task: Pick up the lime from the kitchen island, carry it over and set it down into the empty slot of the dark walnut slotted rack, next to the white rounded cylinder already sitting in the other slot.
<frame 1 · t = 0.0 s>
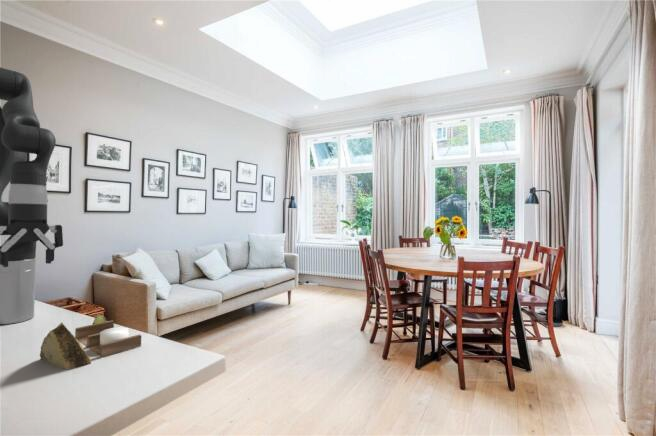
hand: (27, 265, 87), 17 cm above the counter, tool pointing down, fingers open, 8 cm apart
lime: (96, 334, 87), on the counter
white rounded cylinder: (114, 346, 77), point 1 cm above the counter, touching rack
rack: (107, 346, 79), on the counter
rock: (65, 366, 69), on the counter
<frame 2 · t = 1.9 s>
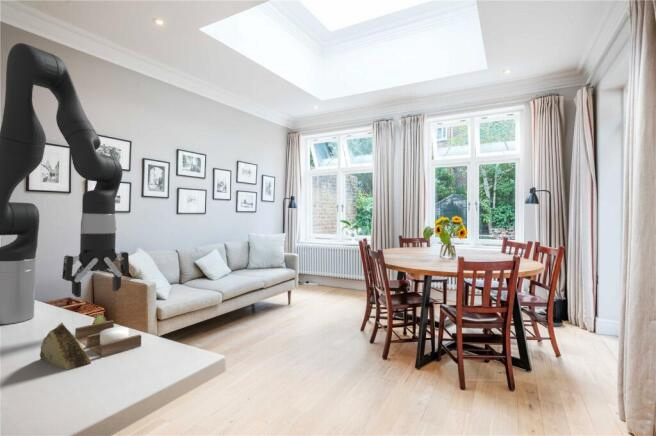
hand: (97, 293, 87), 10 cm above the counter, tool pointing down, fingers open, 8 cm apart
nothing on the counter moved.
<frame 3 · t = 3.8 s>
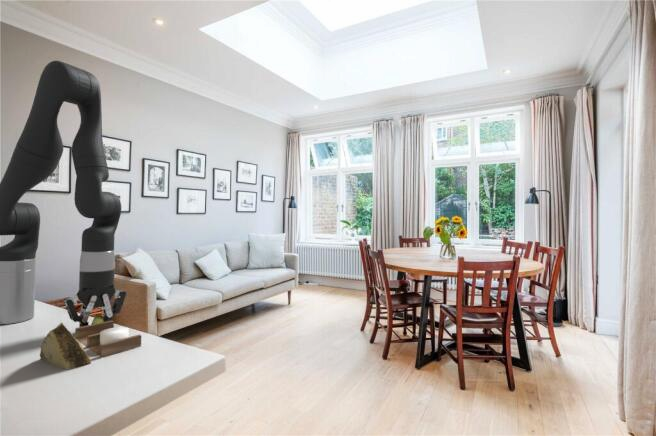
hand: (95, 333, 87), 0 cm above the counter, tool pointing down, fingers closed on lime, 4 cm apart
lime: (95, 334, 87), on the counter, touching gripper
everything else where it was.
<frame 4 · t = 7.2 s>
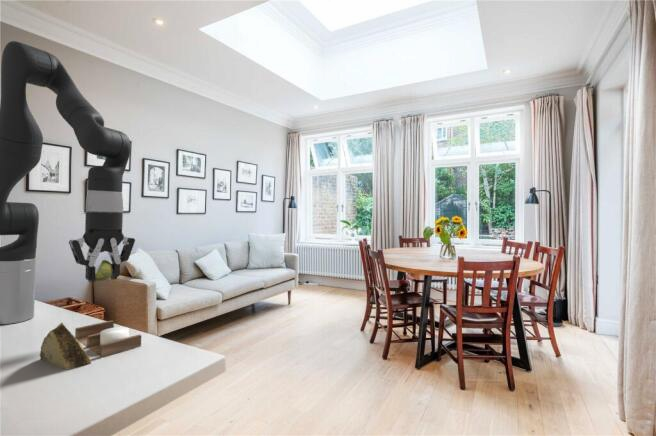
hand: (102, 280, 81), 15 cm above the counter, tool pointing down, fingers closed on lime, 4 cm apart
lime: (102, 281, 81), point 15 cm above the counter, touching gripper
everything else where it was.
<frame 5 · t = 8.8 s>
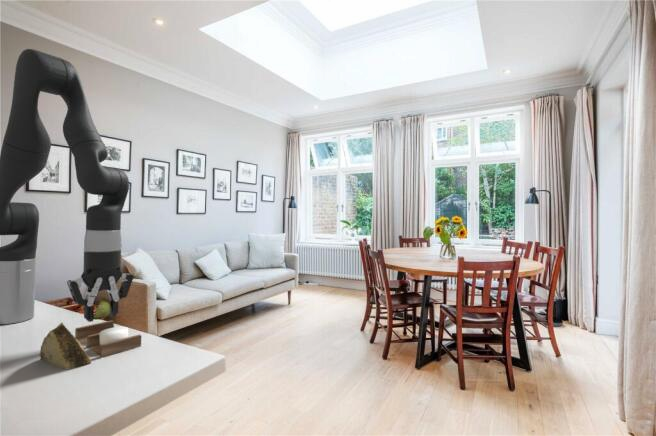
hand: (101, 318, 81), 6 cm above the counter, tool pointing down, fingers closed on lime, 4 cm apart
lime: (100, 319, 81), point 6 cm above the counter, touching gripper
everything else where it was.
when the fingers open (3 cm above the counter, at t = 10.2 s): lime drops 2 cm, resting on rack.
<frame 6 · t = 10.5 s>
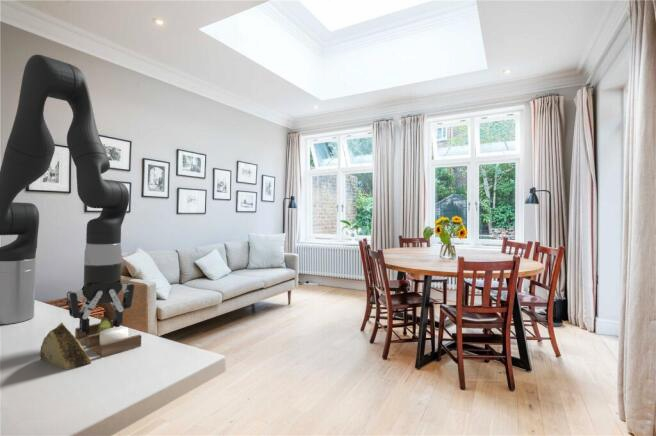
hand: (101, 329, 82), 3 cm above the counter, tool pointing down, fingers open, 6 cm apart
lime: (101, 338, 82), point 1 cm above the counter, touching rack
everything else where it was.
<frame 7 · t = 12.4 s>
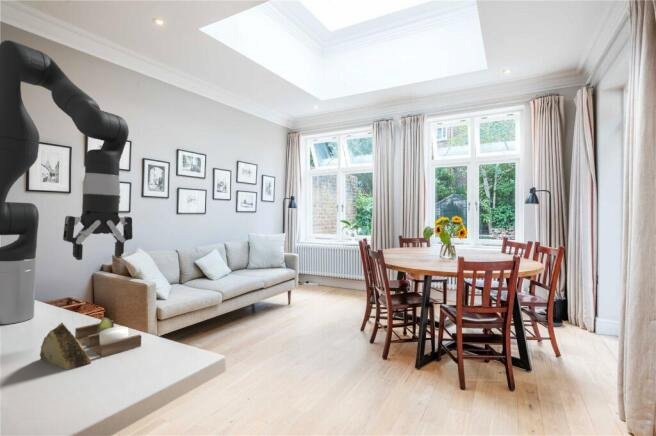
hand: (99, 258, 83), 20 cm above the counter, tool pointing down, fingers open, 8 cm apart
nothing on the counter moved.
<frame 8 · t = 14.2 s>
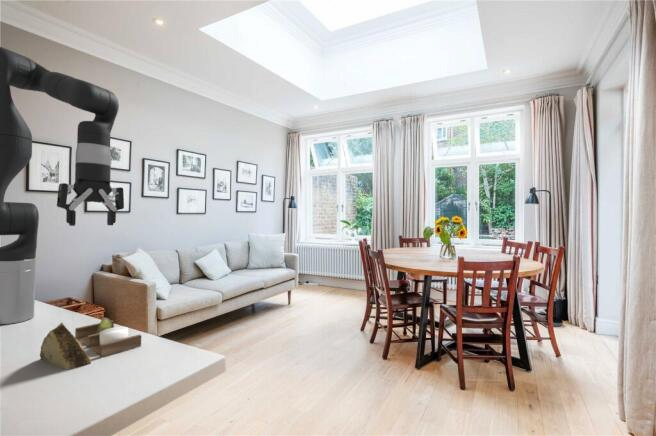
hand: (91, 225, 87), 28 cm above the counter, tool pointing down, fingers open, 8 cm apart
nothing on the counter moved.
at the end: lime inside the target area on the rack (0.1 cm from its centre), point 0.8 cm above the rack's base; the gripper is holding nothing; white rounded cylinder moved 0.1 cm from its start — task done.
